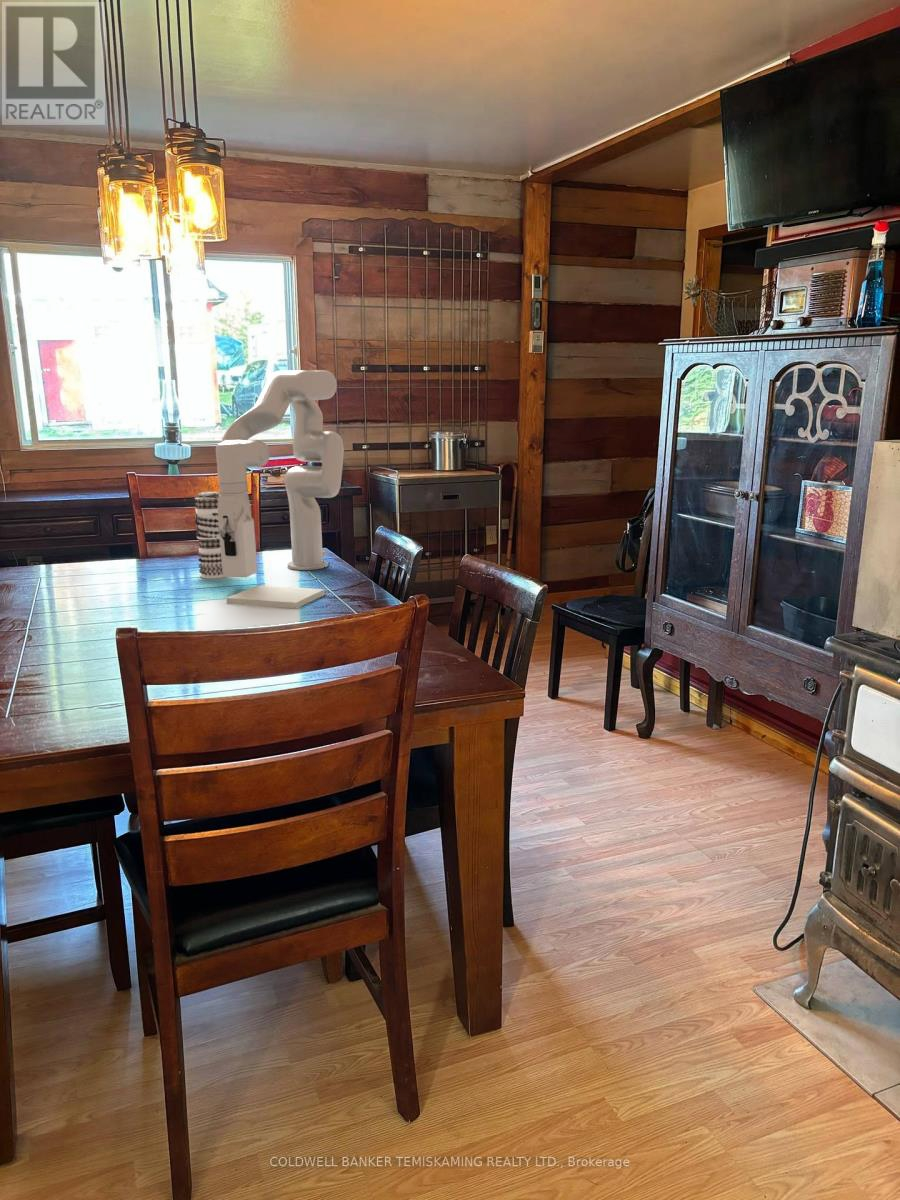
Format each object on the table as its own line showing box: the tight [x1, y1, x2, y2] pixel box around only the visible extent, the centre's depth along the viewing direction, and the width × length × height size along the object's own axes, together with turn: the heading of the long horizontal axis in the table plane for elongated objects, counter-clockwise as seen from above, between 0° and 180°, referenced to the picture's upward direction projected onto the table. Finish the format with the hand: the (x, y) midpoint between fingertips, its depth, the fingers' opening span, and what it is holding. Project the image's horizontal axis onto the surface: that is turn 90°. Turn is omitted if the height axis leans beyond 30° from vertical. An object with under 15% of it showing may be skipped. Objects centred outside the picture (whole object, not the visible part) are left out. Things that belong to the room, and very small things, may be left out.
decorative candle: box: [193, 491, 224, 579], centre depth 244 cm, size 9×9×25 cm
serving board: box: [226, 584, 325, 609], centre depth 216 cm, size 16×20×2 cm
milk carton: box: [218, 507, 259, 578], centre depth 225 cm, size 7×7×19 cm
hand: (238, 552), depth 226 cm, fingers closed on milk carton, 7 cm apart
